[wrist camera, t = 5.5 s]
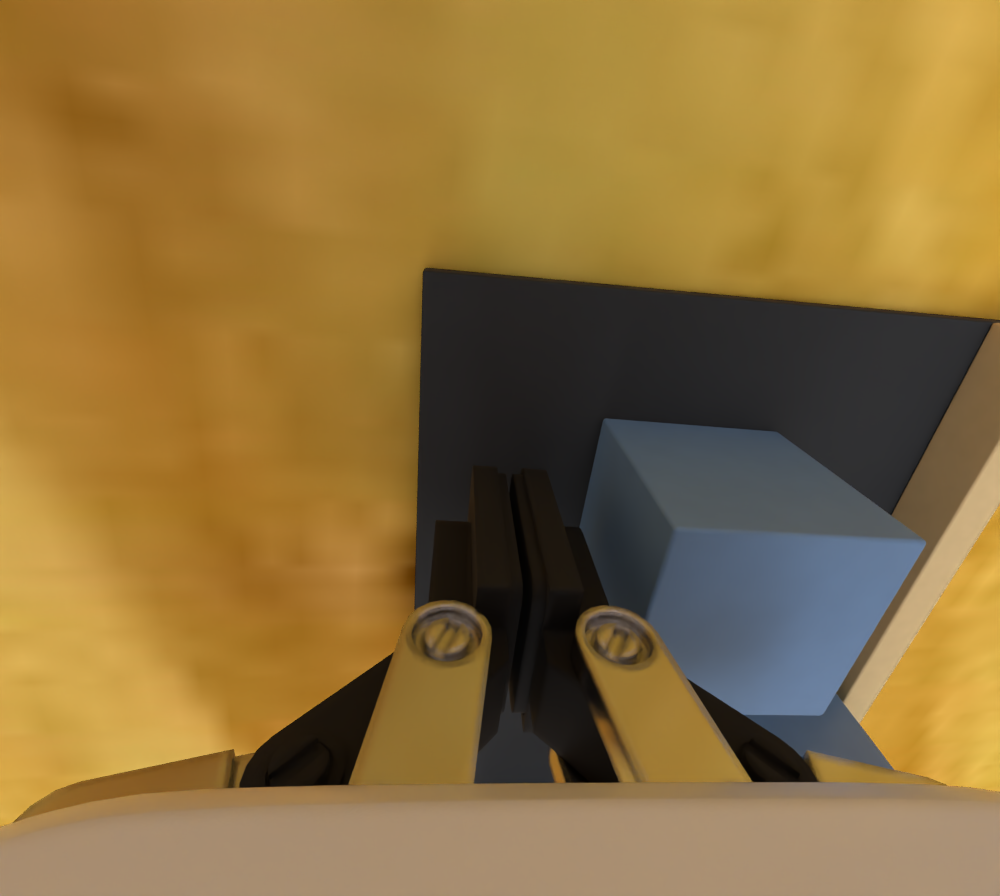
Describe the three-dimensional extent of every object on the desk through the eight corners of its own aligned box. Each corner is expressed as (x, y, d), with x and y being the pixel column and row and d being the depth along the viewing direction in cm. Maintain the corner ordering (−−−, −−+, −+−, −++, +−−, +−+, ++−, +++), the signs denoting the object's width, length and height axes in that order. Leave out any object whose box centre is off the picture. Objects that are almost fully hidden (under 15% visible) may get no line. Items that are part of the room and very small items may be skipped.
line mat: (424, 267, 11) (416, 280, 9) (1009, 320, 12) (1105, 341, 10) (408, 884, 22) (403, 945, 20) (708, 874, 23) (728, 930, 22)
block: (602, 416, 12) (675, 527, 8) (777, 430, 12) (930, 542, 8) (569, 565, 14) (614, 715, 10) (722, 572, 14) (823, 717, 10)
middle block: (674, 651, 16) (747, 807, 12) (806, 653, 16) (921, 804, 12) (642, 741, 18) (695, 901, 14) (761, 740, 18) (847, 895, 14)
